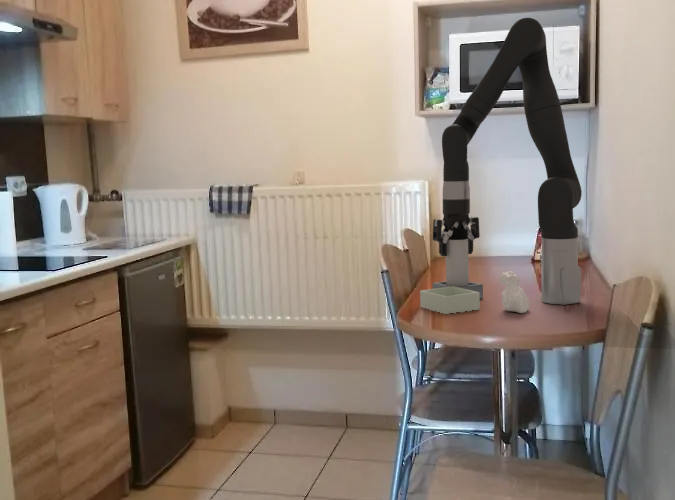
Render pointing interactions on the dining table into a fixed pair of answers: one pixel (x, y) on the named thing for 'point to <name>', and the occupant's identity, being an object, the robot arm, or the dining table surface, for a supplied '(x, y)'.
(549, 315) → the dining table surface
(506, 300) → the bust
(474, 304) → the tray
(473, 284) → the sleeve
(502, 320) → the dining table surface
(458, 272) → the travel mug
